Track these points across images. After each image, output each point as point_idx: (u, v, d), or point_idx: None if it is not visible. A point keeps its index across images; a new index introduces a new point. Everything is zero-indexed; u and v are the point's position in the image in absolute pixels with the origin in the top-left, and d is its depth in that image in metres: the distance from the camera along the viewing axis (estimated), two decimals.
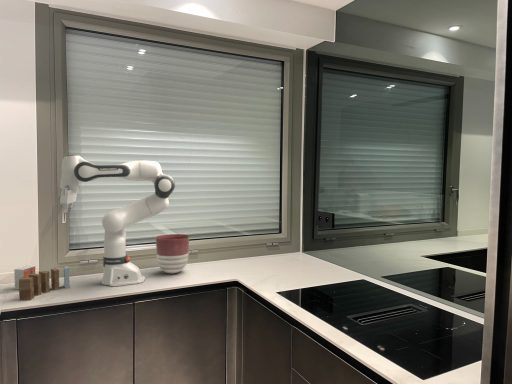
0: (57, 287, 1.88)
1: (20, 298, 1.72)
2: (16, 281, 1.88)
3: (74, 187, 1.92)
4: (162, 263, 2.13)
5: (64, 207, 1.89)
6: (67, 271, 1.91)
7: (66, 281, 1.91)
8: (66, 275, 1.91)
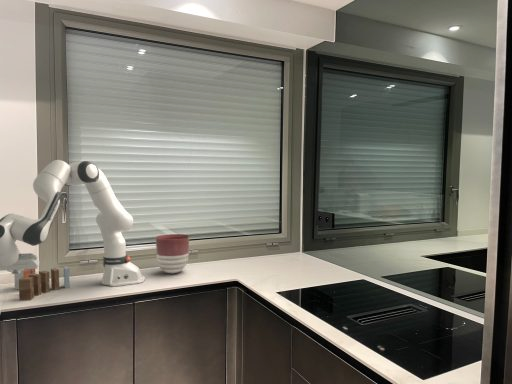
0: (57, 287, 1.88)
1: (20, 298, 1.72)
2: (16, 281, 1.88)
3: (17, 249, 1.55)
4: (162, 263, 2.13)
5: None
6: (67, 271, 1.91)
7: (66, 281, 1.91)
8: (66, 275, 1.91)
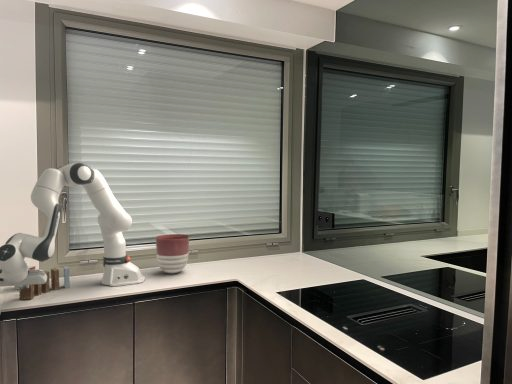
0: (57, 287, 1.88)
1: (20, 297, 1.72)
2: None
3: None
4: (162, 263, 2.13)
5: None
6: (67, 271, 1.91)
7: (66, 281, 1.91)
8: (66, 275, 1.91)
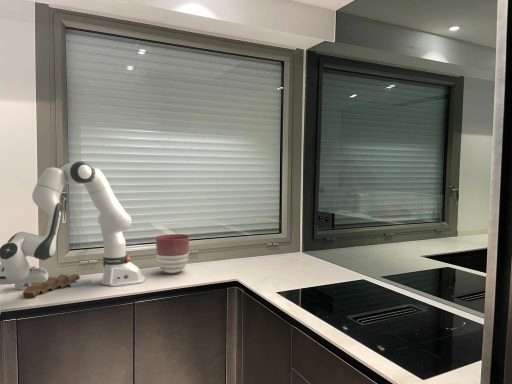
0: (63, 285, 1.91)
1: (24, 291, 1.75)
2: None
3: None
4: (162, 263, 2.13)
5: None
6: None
7: (77, 284, 1.94)
8: (84, 283, 1.96)
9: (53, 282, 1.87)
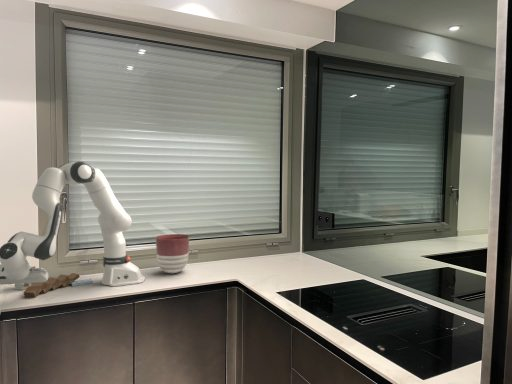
0: (65, 284, 1.93)
1: (25, 291, 1.76)
2: None
3: None
4: (162, 263, 2.13)
5: None
6: (89, 283, 1.98)
7: (79, 284, 1.95)
8: (85, 283, 1.97)
9: (54, 282, 1.88)
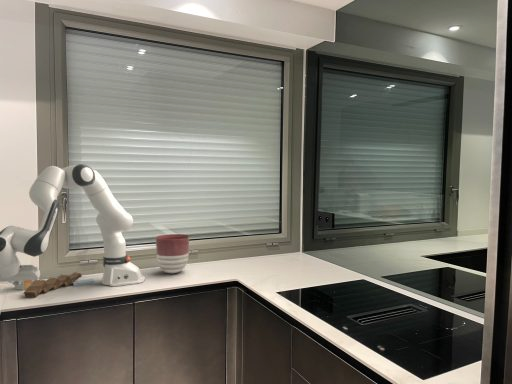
0: (67, 284, 1.94)
1: (25, 291, 1.76)
2: None
3: None
4: (162, 263, 2.13)
5: None
6: (91, 283, 1.98)
7: (80, 283, 1.95)
8: (87, 283, 1.97)
9: (54, 282, 1.88)
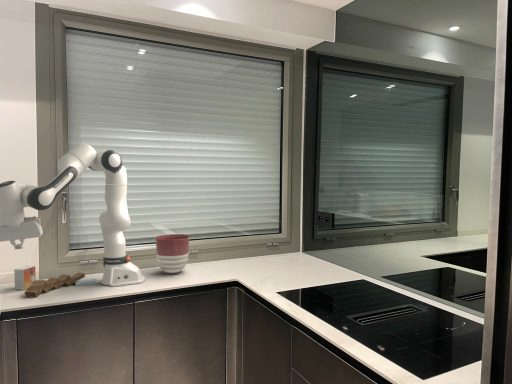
0: (69, 283, 1.94)
1: (26, 290, 1.76)
2: (16, 281, 1.88)
3: None
4: (162, 263, 2.13)
5: (23, 242, 1.63)
6: (93, 283, 1.98)
7: (82, 284, 1.95)
8: (89, 283, 1.97)
9: (55, 282, 1.89)
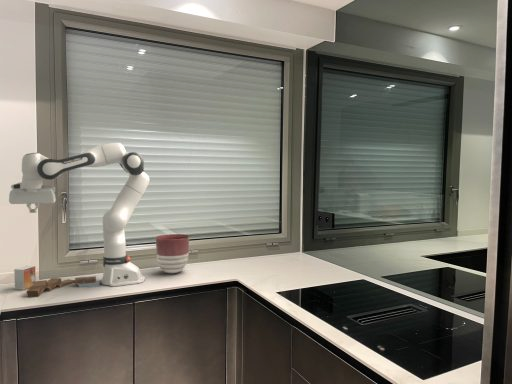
0: (76, 282, 1.93)
1: (28, 290, 1.77)
2: (16, 281, 1.88)
3: None
4: (162, 263, 2.13)
5: (37, 207, 1.87)
6: (96, 285, 1.95)
7: (85, 284, 1.94)
8: (92, 284, 1.94)
9: (57, 282, 1.92)
